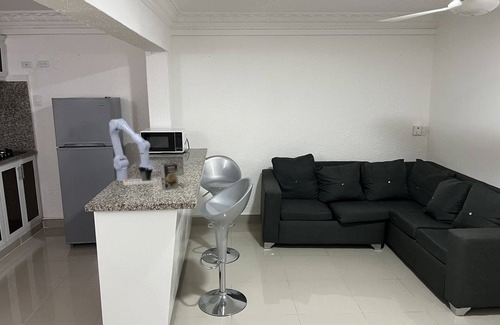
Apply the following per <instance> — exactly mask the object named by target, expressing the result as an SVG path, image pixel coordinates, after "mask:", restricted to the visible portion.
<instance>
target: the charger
mask: <svg viewBox="0 0 500 325" xmlns="http://www.w3.org/2000/svg"><path fill="white" fill-rule="evenodd" d="M141 179H142V181H149V180H150V179H148V180H147V178H146V173H145V171H142V176H141Z"/></svg>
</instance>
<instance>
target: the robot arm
mask: <svg viewBox="0 0 500 325" xmlns="http://www.w3.org/2000/svg"><path fill="white" fill-rule="evenodd" d="M108 125H109V135H110V139H111V143H112V147H113V151H114V155H115V156H114V158H113V168H114V169H115V171H116V172H115V173H116V181H117V182H123V180H129V179H128V178H129V177H128V167H129V166H130V162H129V160H128V158H127V156H126V155H124V151H123V146H122V143H121V140H120V139H121V138H120V135H119V133H120V131H121V130H122V131H124V132H125V133H127V135H129V136H130V137H131V140H132V141H133V142H134V144H136V145H137V149H138V150H139V154H140V163H139V167H138V170H139V172H140V175H141V177H142V171H145V173H146V178H147V180H148V179H150V178H152V172H153V171H154V170H153V168H152V166H151V165H150V148H151V143H150V142H149V141H148V140H145V139H144V138H143V137H142V136H141V135H140V133H136V132H135V131H134V130H133V129H132V128H131V127H130V126H129V125H128V123H127V121H126V120H125V119H124V118H116V119H113V118H112V119H111V120H110V121H109V123H108Z"/></svg>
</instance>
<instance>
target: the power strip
mask: <svg viewBox="0 0 500 325" xmlns="http://www.w3.org/2000/svg"><path fill="white" fill-rule="evenodd" d="M122 182H123V183H122V184H123V186H129V185H130V186H131V185H142V184H153V183H158V179H157V177H150V180H149V181H142V178H136V179H135V178H134V179H133V178H132V179H128V180H123V181H122Z"/></svg>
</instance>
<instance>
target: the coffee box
mask: <svg viewBox="0 0 500 325" xmlns="http://www.w3.org/2000/svg"><path fill="white" fill-rule="evenodd" d="M160 171H161V172H160V173H161V188H162V189H163V190H165V191H167V190H173V188H174V189H178V188H179V182H178V180H179V179H178V178H179V177H178V164H177V163H173V162H171V163H162V164H160Z"/></svg>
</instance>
